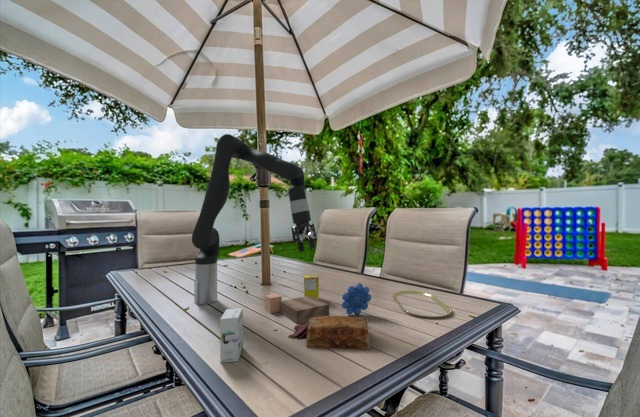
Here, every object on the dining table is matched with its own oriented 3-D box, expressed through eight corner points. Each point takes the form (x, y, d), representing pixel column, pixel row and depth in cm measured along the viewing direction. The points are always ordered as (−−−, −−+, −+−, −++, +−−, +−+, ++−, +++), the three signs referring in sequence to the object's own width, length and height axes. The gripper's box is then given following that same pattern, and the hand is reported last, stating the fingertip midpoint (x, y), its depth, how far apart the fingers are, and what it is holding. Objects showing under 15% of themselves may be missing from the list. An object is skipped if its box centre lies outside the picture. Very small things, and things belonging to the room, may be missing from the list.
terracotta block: (270, 313, 117) (270, 298, 117) (265, 310, 121) (265, 295, 121) (281, 311, 119) (281, 296, 120) (276, 307, 124) (276, 293, 124)
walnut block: (296, 325, 105) (296, 311, 106) (279, 313, 117) (279, 301, 117) (329, 317, 113) (329, 304, 113) (310, 307, 125) (310, 295, 125)
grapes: (368, 310, 119) (368, 280, 119) (373, 316, 112) (372, 284, 113) (340, 311, 118) (339, 281, 118) (342, 317, 111) (342, 285, 112)
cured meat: (293, 325, 105) (292, 306, 105) (364, 326, 103) (364, 307, 103) (283, 350, 87) (283, 327, 87) (369, 352, 85) (369, 328, 85)
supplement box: (319, 298, 136) (318, 274, 136) (317, 302, 130) (317, 277, 130) (306, 298, 137) (306, 274, 137) (304, 302, 131) (304, 277, 131)
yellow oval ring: (408, 320, 109) (408, 316, 109) (389, 293, 144) (389, 290, 144) (459, 320, 109) (459, 316, 109) (428, 293, 144) (428, 290, 144)
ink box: (226, 348, 87) (226, 308, 87) (243, 347, 88) (243, 307, 88) (219, 363, 79) (219, 318, 79) (238, 362, 79) (238, 317, 79)
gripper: (302, 212, 131) (308, 248, 130) (282, 213, 119) (290, 254, 118) (316, 208, 127) (323, 246, 126) (298, 210, 115) (306, 251, 114)
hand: (307, 249), depth 122 cm, fingers open, 8 cm apart
